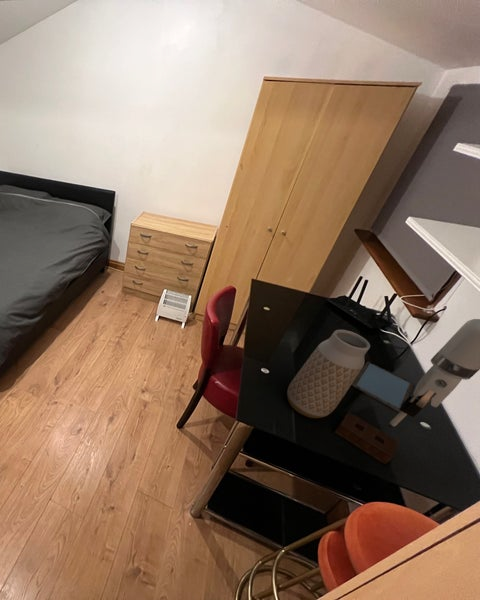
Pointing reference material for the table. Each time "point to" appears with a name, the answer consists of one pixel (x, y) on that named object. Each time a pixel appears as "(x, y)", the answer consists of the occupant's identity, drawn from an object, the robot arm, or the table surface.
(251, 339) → the table surface
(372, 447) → the holder
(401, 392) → the tablet
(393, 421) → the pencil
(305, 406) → the vase
